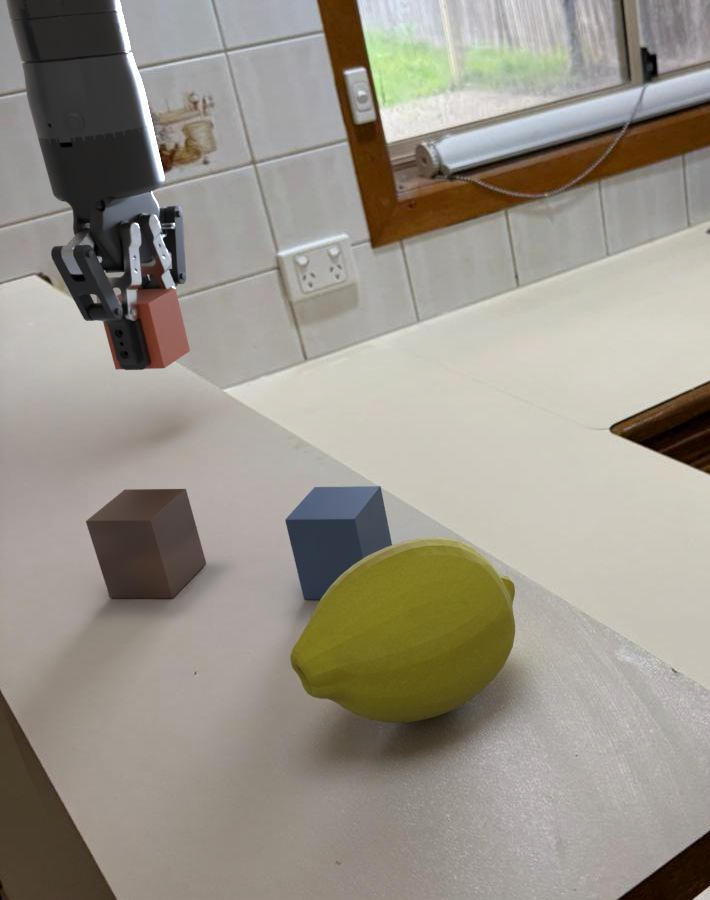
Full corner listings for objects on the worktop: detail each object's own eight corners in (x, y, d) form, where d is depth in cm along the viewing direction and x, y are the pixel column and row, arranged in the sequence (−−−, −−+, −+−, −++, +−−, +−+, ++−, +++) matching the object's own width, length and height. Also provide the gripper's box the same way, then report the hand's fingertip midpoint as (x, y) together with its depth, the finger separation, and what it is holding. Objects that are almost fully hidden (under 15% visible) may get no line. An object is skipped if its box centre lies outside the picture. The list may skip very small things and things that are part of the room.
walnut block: (109, 598, 65) (85, 521, 63) (146, 563, 69) (124, 489, 67) (172, 598, 65) (150, 520, 63) (206, 563, 68) (186, 488, 66)
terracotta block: (115, 369, 85) (98, 305, 83) (143, 352, 88) (127, 289, 86) (164, 368, 84) (148, 303, 82) (190, 351, 88) (175, 288, 86)
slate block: (303, 599, 63) (284, 519, 61) (331, 563, 67) (314, 486, 65) (371, 600, 62) (354, 519, 60) (396, 563, 66) (380, 485, 64)
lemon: (496, 627, 58) (474, 487, 55) (565, 703, 52) (545, 549, 49) (288, 704, 54) (251, 557, 51) (336, 797, 47) (296, 635, 44)
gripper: (102, 114, 86) (156, 330, 93) (-20, 144, 74) (52, 392, 80) (193, 107, 85) (240, 327, 92) (84, 138, 72) (148, 391, 79)
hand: (152, 356), depth 86 cm, fingers closed on terracotta block, 4 cm apart
